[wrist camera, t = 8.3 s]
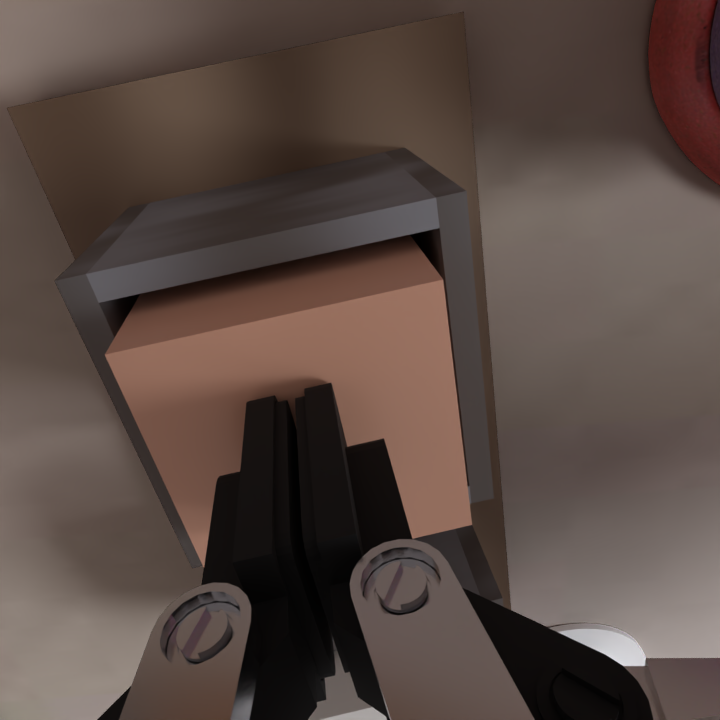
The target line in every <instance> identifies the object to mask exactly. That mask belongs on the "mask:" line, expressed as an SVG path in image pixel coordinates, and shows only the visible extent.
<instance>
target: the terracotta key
mask: <svg viewBox="0 0 720 720" xmlns="http://www.w3.org/2000/svg"><path fill="white" fill-rule="evenodd" d="M105 357H106V359H107V361H108V363H109V365H110V367H111V369H112V372H113V374H114V376H115V378H116V380H117V382H118V384H119V387H120V389H121V391H122V393H123V395H124V397H125V400H126V402H127V404H128V406H129V408H130V410H131V412H132V415H133V417H134V419H135V421H136V423H137V425H138V427H139V430H140V432H141V434H142V436H143V438H144V440H145V443H146V445H147V447H148V449H149V451H150V453H151V455H152V458H153V460H154V462H155V464H156V466H157V468H158V470H159V473H160V475H161V477H162V479H163V481H164V483H165V486H166V488H167V490H168V492H169V494H170V496H171V498H172V501H173V503H174V505H175V507H176V509H177V511H178V513H179V516H180V518H181V520H182V522H183V524H184V526H185V529H186V531H187V533H188V535H189V537H190V539H191V541H192V544H193V546H194V548H195V550H196V552H197V554H198V556H199V559H200V561H201V563H202V565H203V567H204V565H205V558H206V551H207V544H208V537H209V530H210V523H211V516H212V509H213V502H214V495H215V488H216V482H217V479H218V477H219V476H222V475H226V474H230V473H235V472H239V471H240V468H241V457H242V446H243V434H244V423H245V412H246V403H247V402H248V401H252V400H256V399H261V398H265V397H270V396H274V395H275V396H276V398H277V400H278V402H281V401H285V400H287V401H288V403H289V406H290V409H291V413H292V416H293V419H294V423H295V426H296V409H295V398H298V397H303V396H305V394H304V389H305V388H309V387H314V386H318V385H323V384H327V383H332V386H333V390H334V394H335V398H336V402H337V406H338V410H339V415H340V419H341V423H342V427H343V431H344V435H345V439H346V443H347V447H348V446H352V445H357V444H361V443H365V442H370V441H374V440H378V439H383V438H384V440H385V443H386V447H387V450H388V454H389V457H390V461H391V465H392V468H393V472H394V475H395V479H396V482H397V486H398V489H399V493H400V496H401V500H402V504H403V507H404V511H405V514H406V518H407V521H408V525H409V528H410V532H411V535H412V539H413V538H418V537H422V536H426V535H431V534H435V533H439V532H443V531H448V530H452V529H456V528H461V527H465V526H469V525H472V520H471V511H470V503H469V494H468V486H467V477H466V469H465V460H464V452H463V443H462V435H461V426H460V418H459V409H458V401H457V392H456V384H455V375H454V367H453V358H452V350H451V342H450V333H449V325H448V316H447V308H446V299H445V291H444V282H443V279H442V277H441V276H440V275H439V273H438V272H437V271H436V269H435V268H434V267H433V265H432V264H431V263H430V261H429V260H428V258H427V257H426V256H425V254H424V253H423V252H422V250H421V249H420V248H419V246H418V245H417V244H416V242H415V241H414V240H413V238H412V237H411V236H410V235H405V236H401V237H396V238H392V239H387V240H383V241H378V242H373V243H369V244H364V245H360V246H355V247H351V248H346V249H342V250H337V251H333V252H328V253H323V254H319V255H314V256H310V257H305V258H301V259H296V260H292V261H287V262H282V263H278V264H273V265H269V266H264V267H260V268H255V269H251V270H246V271H241V272H237V273H232V274H228V275H223V276H219V277H214V278H210V279H205V280H201V281H196V282H191V283H187V284H182V285H178V286H173V287H169V288H164V289H160V290H155V291H150V292H146V293H141V294H140V295H139V297H138V299H137V301H136V302H135V304H134V306H133V307H132V309H131V311H130V312H129V314H128V316H127V318H126V319H125V321H124V323H123V324H122V326H121V328H120V329H119V331H118V333H117V335H116V336H115V338H114V340H113V341H112V343H111V345H110V346H109V348H108V350H107V352H106V353H105ZM296 430H297V428H296Z"/></svg>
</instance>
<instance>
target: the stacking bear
mask: <svg viewBox="0 0 720 720" xmlns="http://www.w3.org/2000/svg"><path fill="white" fill-rule="evenodd" d="M648 59H649V75H650V83H651V88H652V94H653V97H654V101H655V103H656V106H657V109H658V111H659V114H660V116H661V118H662V120H663V121H664V123H665V125H666V127H667V129H668V130H669V132H670V134H671V135H672V137H673V138H674V140H675V142H676V143H677V145H678V146H679V147H680V148H681V150H682V151H683V152H684V153H685V155H686V156H687V157H688V158H689V159H690V160H691V162H692V163H693V164H694V165H695V166H697V167H698V168H699V169H700V170H701V171H702V172H703V173H704V174H705V175H707V176H708V177H709V178H710V179H712V180H713V181H714V182H715V183H717V184H718V185H720V0H656V3H655V7H654V12H653V16H652V22H651V29H650V35H649V49H648Z"/></svg>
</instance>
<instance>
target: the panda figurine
mask: <svg viewBox="0 0 720 720" xmlns="http://www.w3.org/2000/svg"><path fill="white" fill-rule="evenodd" d="M550 629H552V630H554V631H556V632H558V633H561V634H563V635H565V636H567V637H569V638H571V639H573V640H575V641H578V642H580V643H582V644H584V645H586V646H588V647H590V648H592V649H595V650H597V651H599V652H601V653H603V654H605V655H607V656H608V657H610V658H612V659H613V660H615V661H616V662H618V663H620V664H621V665H623V666H645V660H646V656H645V654H644V652H643V650H642V648H641V647H640V645H639V644H638V642H637V641H636V640H635V639H634V638H633V637H632V636H630V635H629V634H627V633H626V632H624V631H622V630H620V629H617V628H614V627H611V626H607V625H602V624H593V623H577V624H566V625H560V626H555V627H550Z"/></svg>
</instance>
